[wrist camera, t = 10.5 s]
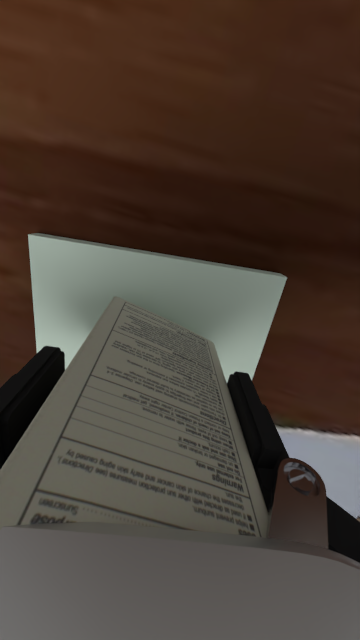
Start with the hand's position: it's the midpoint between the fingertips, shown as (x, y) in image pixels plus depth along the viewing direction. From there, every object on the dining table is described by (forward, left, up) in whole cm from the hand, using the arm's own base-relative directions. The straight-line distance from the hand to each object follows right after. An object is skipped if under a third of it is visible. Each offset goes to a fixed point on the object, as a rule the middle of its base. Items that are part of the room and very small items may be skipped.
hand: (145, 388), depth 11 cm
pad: (0, 0, -6) cm, 6 cm away
